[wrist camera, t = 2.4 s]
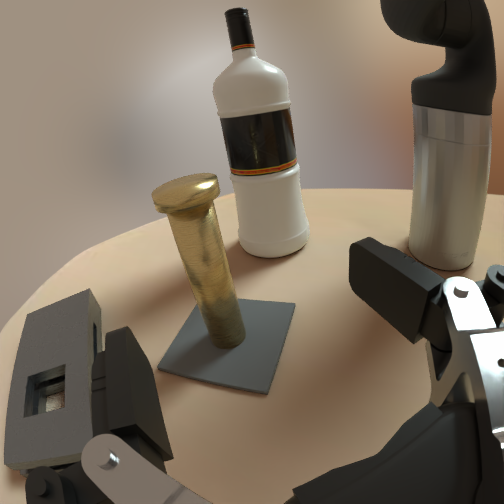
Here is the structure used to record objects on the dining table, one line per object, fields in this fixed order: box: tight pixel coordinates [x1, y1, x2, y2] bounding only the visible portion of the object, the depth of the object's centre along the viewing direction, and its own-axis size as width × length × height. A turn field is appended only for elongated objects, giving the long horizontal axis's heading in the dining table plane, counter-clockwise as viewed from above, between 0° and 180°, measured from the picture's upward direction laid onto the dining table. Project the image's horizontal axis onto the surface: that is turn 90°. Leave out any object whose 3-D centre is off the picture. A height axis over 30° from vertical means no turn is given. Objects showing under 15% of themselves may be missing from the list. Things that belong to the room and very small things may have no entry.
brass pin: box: [152, 173, 246, 349], centre depth 22 cm, size 4×4×14 cm
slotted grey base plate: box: [4, 288, 102, 478], centre depth 22 cm, size 21×10×3 cm, turn 25°
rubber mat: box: [157, 299, 295, 394], centre depth 26 cm, size 10×10×1 cm
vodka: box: [213, 8, 310, 258], centre depth 31 cm, size 9×9×30 cm
